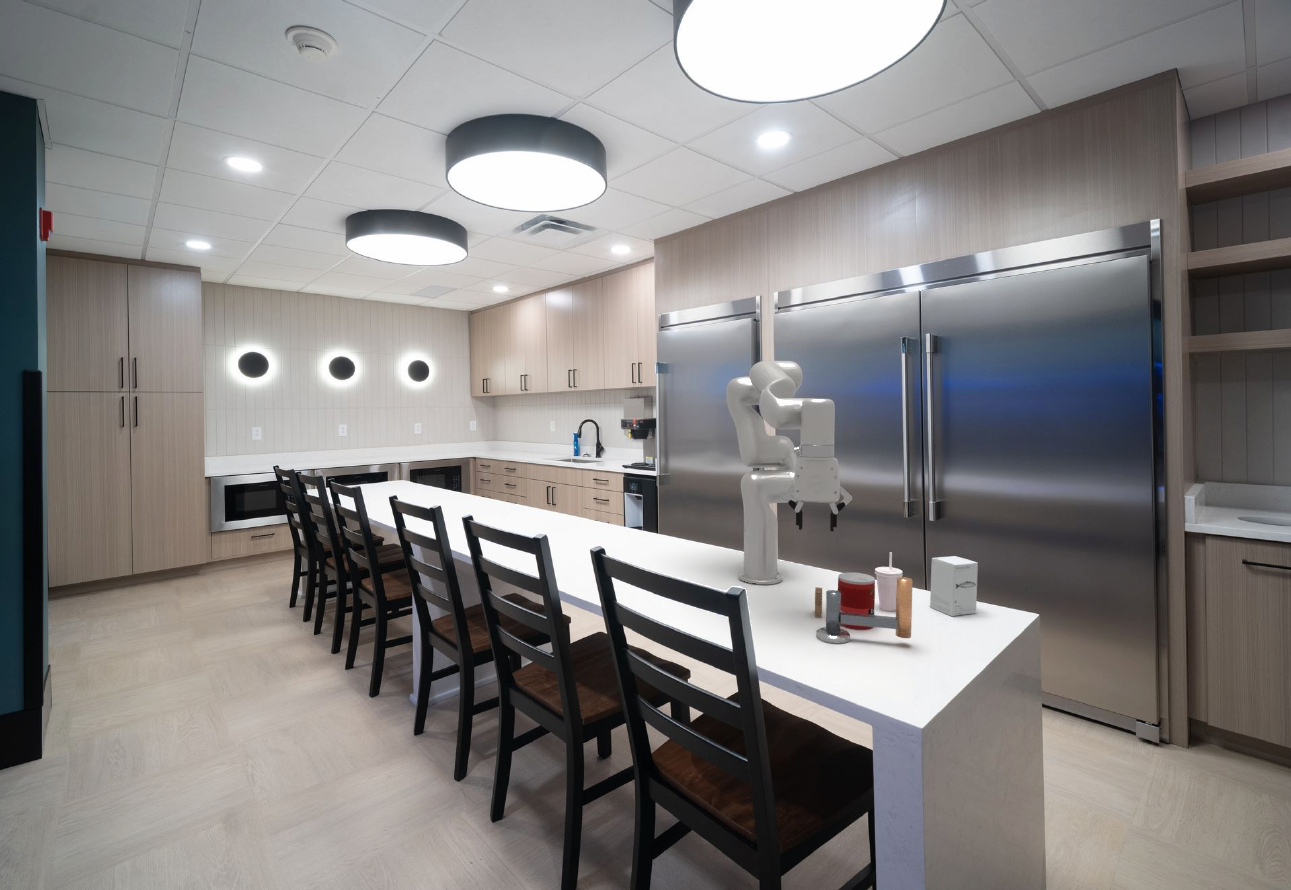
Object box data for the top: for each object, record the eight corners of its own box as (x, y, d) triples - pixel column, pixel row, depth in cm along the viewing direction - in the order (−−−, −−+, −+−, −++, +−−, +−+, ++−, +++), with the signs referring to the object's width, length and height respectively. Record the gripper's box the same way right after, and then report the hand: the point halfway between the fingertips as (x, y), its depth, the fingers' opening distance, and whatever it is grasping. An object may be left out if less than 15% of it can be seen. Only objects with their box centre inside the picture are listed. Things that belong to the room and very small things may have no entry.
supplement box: (952, 617, 140) (953, 564, 139) (929, 607, 147) (930, 557, 146) (977, 614, 142) (978, 562, 141) (953, 604, 149) (954, 554, 149)
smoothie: (907, 611, 145) (909, 554, 144) (887, 614, 142) (888, 557, 141) (888, 603, 151) (889, 548, 150) (868, 606, 148) (869, 551, 147)
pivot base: (816, 630, 133) (816, 625, 133) (849, 633, 131) (849, 629, 131) (815, 641, 126) (815, 637, 126) (850, 645, 124) (850, 641, 124)
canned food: (877, 631, 132) (877, 582, 131) (839, 628, 133) (840, 580, 133) (871, 619, 139) (871, 573, 139) (835, 617, 141) (836, 571, 140)
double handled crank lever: (910, 637, 125) (911, 577, 124) (912, 642, 122) (913, 581, 121) (825, 628, 130) (826, 571, 129) (825, 633, 127) (826, 575, 126)
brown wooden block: (815, 611, 145) (815, 587, 144) (822, 612, 144) (822, 587, 144) (814, 616, 141) (815, 592, 141) (821, 617, 140) (822, 592, 140)
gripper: (777, 453, 135) (776, 530, 137) (857, 454, 130) (856, 535, 132) (779, 450, 143) (779, 524, 144) (856, 451, 138) (855, 528, 139)
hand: (816, 528), depth 138 cm, fingers open, 6 cm apart
